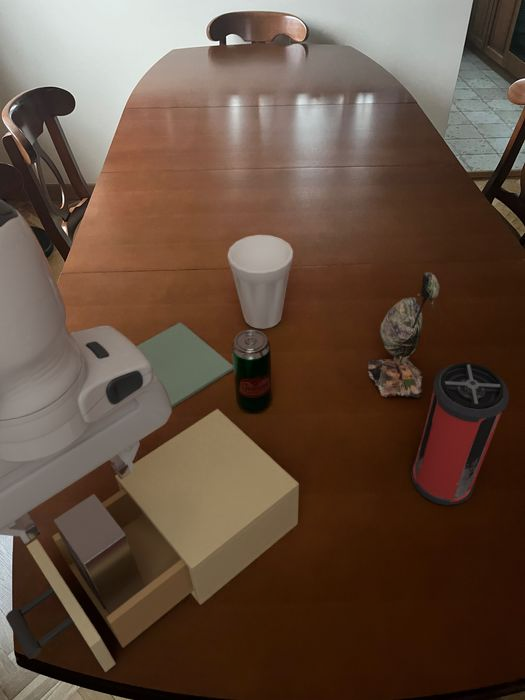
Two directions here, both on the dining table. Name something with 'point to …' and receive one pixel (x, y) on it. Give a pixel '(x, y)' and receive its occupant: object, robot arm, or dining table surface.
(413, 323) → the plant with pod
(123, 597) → the brushed metal box
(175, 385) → the mat
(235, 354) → the soda can
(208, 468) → the cabinet
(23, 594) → the dining table surface
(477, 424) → the speaker
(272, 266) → the cup
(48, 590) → the drawer
